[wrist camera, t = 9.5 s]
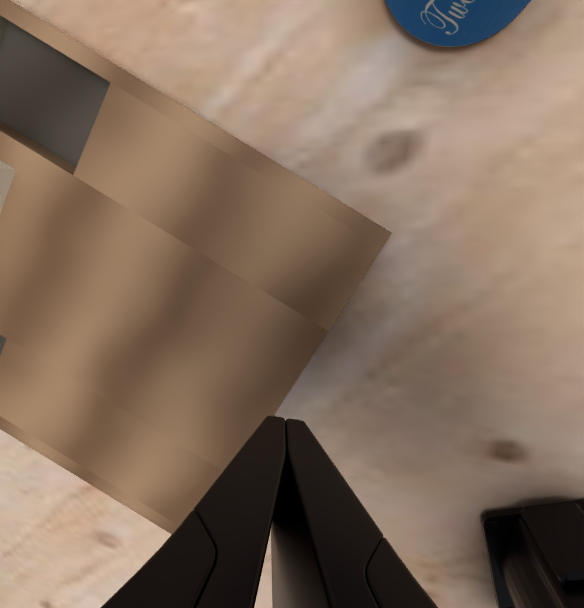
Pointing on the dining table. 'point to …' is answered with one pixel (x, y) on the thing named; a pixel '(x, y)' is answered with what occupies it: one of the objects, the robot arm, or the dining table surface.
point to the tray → (150, 275)
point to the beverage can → (454, 19)
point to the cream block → (5, 181)
